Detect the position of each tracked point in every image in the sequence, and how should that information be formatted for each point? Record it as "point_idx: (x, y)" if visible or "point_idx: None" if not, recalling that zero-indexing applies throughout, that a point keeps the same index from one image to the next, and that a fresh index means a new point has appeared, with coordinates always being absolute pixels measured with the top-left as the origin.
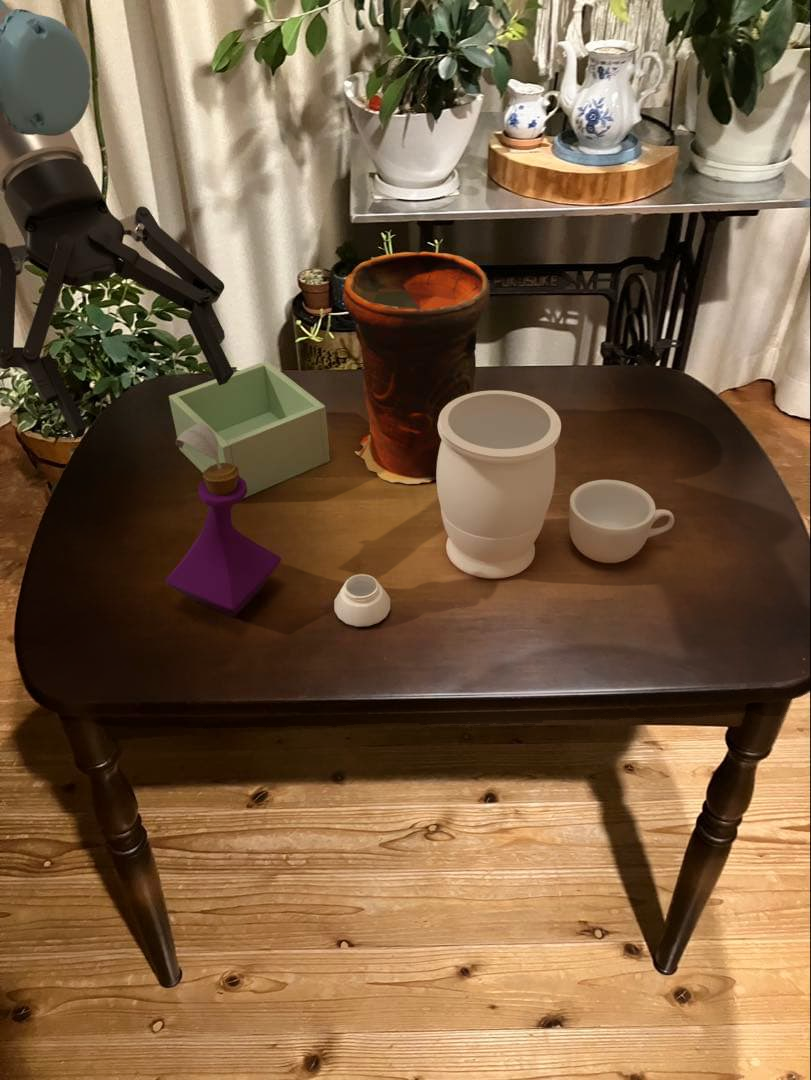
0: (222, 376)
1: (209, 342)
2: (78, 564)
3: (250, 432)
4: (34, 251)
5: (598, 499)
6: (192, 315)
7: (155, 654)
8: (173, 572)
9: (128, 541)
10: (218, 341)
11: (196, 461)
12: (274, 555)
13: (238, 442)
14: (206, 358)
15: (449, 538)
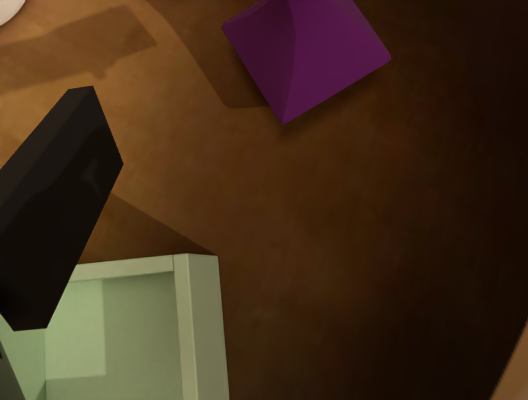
0: (101, 118)
1: (52, 147)
2: (482, 242)
3: (121, 272)
4: None
5: None
6: (13, 259)
7: (431, 11)
8: (378, 46)
9: (395, 254)
10: (24, 141)
11: (225, 385)
12: (229, 20)
13: (154, 257)
14: (97, 212)
15: (7, 4)
